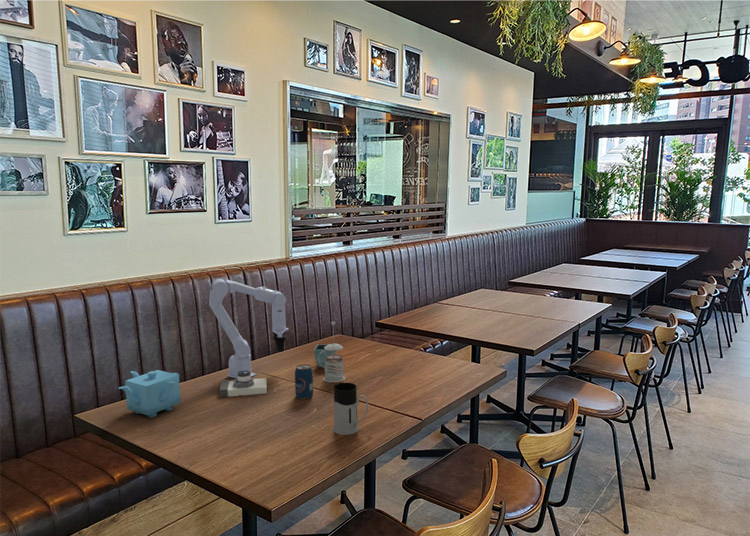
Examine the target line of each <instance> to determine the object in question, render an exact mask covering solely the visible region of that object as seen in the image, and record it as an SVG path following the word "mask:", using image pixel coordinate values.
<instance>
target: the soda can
mask: <svg viewBox="0 0 750 536" xmlns="http://www.w3.org/2000/svg"><path fill="white" fill-rule="evenodd" d="M313 373H314V371H313V368H312V366H311V365H310V364H306V363H305V364H299V365H296V367H295V370H294V384H295V385H294V391H295V392H294V394H295V395H296V398H298V399H300V400H304V399H306V398H307V399H309V398H311V397H312V396H313V394H314V375H313Z"/></svg>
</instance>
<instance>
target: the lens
mask: <svg viewBox="0 0 750 536" xmlns="http://www.w3.org/2000/svg"><path fill="white" fill-rule="evenodd" d="M251 378H252V377H251V374H250V371H247V370H244V371H239V372H238V383H239V384H244V383H249V382H251Z"/></svg>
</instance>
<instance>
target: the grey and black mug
mask: <svg viewBox="0 0 750 536" xmlns="http://www.w3.org/2000/svg"><path fill="white" fill-rule="evenodd" d="M361 397H363V398H364V400H365V403H366V405H365V406H366V409H365V412H364V414H363V416H362V417H361V418H360V419H359V420H358V406H359V402H360V398H361ZM368 410H369V401H368V398H367V397H366V395H364V394H360V395H358V396H357V384H355V383H352V382H338V383H337V384H334V386H333V425H334V426H333V427H332V431H333V433H335V434H337V435H341V436H343V435H345V436H348V435H354V434H355V433H357V432H359V430H360V429H359V426H358V425H359V424H358V423H360V422H362V420H364V419H365V418H366V416H367V414H368Z"/></svg>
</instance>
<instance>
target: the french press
mask: <svg viewBox="0 0 750 536" xmlns="http://www.w3.org/2000/svg"><path fill="white" fill-rule="evenodd" d="M330 324H331V325H332V336H333V337H332V341H333V343H329V344H326V345H327V346H325V347H324V349H325V350H328V351H335V352H338V351H341V350H343V349H344V347H343V346H342V345H341V344H339V343H335V336H334V335H335V334H334V333H335V331H334V326H335V325H336V322H335V321H331V322H330ZM325 350H323V352H324V351H325ZM321 353H322V351H321V352H320V354H321ZM320 354H319V356H320ZM324 354H325V352H324ZM319 356H318V362H319V365H320V364H321V363H320V361H319ZM330 360H333V361H332V362H329V361H330ZM328 362H329V363H328ZM321 365H322V364H321ZM321 365H320V366H321ZM328 365H329V366H328ZM322 366H323V365H322ZM322 366H321V367H320V368H323V369H324V377H323V378H322V380H323V381H324V382H327V383H332V382H334V383H342V382H343V380H344V381H346V379H345V378H346V376H345V375H344V359H343V356H342V355H341V354H338V353H337V354H336V353H335V354H331V355H327V356H326V360H325V366H324V367H322Z"/></svg>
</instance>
